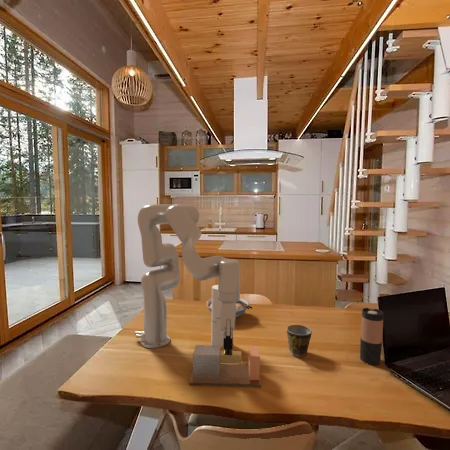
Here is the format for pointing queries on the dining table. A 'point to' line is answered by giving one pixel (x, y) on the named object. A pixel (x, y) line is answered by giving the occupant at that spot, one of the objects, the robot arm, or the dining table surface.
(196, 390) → the dining table surface
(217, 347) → the brown wooden base board
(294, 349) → the ceramic cup
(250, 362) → the socket
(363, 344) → the travel mug
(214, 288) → the cylindrical container
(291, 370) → the dining table surface
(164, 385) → the dining table surface
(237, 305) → the ramen bowl
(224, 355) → the sliding bolt with handle
